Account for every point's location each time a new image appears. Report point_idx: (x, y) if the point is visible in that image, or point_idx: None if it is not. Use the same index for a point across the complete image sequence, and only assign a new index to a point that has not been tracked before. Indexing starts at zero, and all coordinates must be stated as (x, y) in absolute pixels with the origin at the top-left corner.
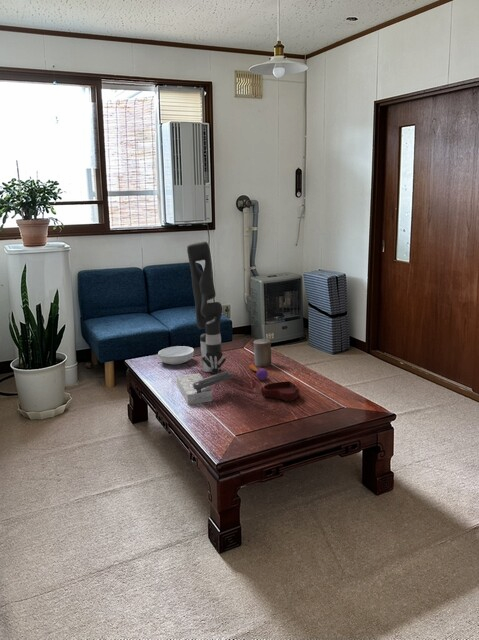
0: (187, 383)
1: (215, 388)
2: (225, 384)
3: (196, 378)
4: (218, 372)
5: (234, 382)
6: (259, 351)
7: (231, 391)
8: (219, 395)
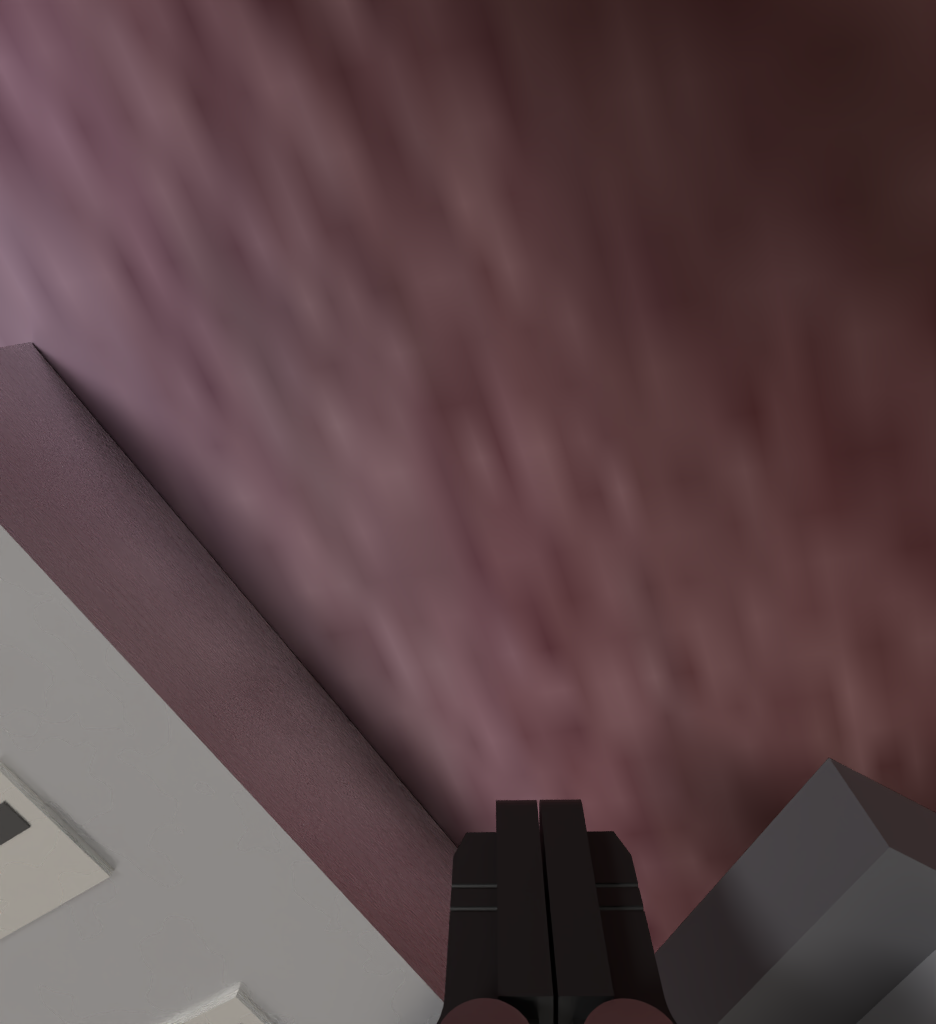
0: (32, 1006)
1: (497, 615)
2: (633, 379)
3: (43, 753)
4: (633, 867)
5: (814, 215)
6: None
7: (831, 699)
8: (661, 868)
